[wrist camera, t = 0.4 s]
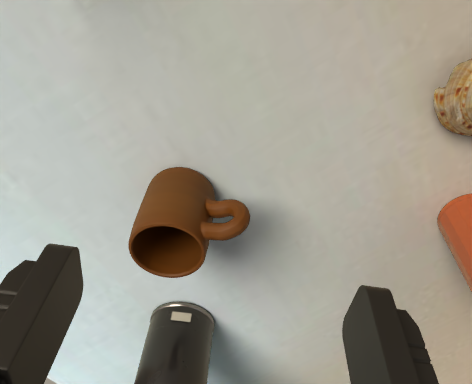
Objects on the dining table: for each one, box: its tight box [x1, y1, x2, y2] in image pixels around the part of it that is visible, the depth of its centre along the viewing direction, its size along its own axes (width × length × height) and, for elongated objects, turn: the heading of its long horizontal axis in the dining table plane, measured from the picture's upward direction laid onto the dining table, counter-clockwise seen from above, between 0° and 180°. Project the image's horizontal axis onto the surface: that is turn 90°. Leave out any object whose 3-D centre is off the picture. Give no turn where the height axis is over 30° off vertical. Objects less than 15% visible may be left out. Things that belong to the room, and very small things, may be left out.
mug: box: [129, 167, 250, 278], centre depth 41 cm, size 12×8×9 cm, turn 110°
